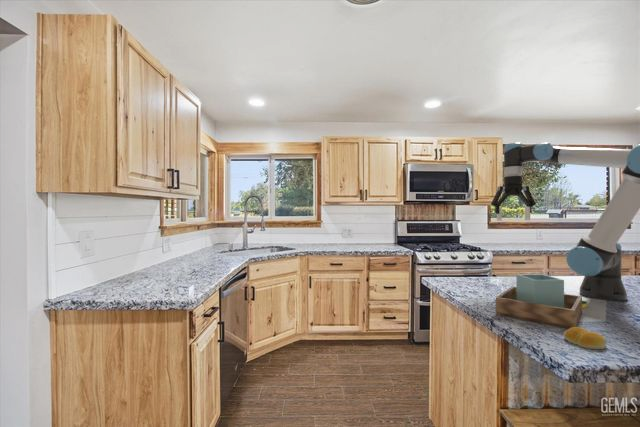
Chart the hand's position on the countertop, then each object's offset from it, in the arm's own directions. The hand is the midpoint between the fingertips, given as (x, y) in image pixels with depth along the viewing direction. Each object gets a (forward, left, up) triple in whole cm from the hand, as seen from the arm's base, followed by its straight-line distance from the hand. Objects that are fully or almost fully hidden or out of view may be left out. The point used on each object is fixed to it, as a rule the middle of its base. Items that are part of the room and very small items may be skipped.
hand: (513, 220), depth 155 cm
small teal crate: (-17, +40, -31) cm, 53 cm away
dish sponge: (-21, +19, -32) cm, 43 cm away
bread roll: (-31, +61, -32) cm, 75 cm away
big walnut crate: (-17, +40, -32) cm, 54 cm away
